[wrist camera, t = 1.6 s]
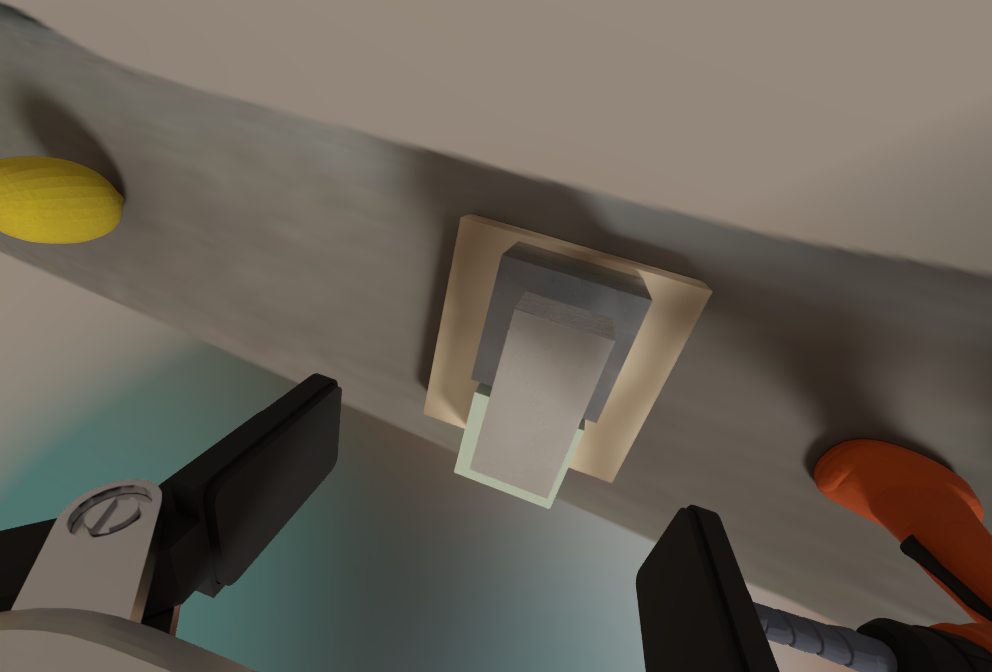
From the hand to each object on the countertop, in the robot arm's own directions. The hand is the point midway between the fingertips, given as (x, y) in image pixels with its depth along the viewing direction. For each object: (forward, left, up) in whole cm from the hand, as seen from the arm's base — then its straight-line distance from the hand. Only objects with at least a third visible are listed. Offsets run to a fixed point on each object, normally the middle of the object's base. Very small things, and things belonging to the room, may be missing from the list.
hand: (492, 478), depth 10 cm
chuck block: (0, 0, -13) cm, 13 cm away
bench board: (+1, +3, -15) cm, 16 cm away
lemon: (+29, -18, -16) cm, 38 cm away
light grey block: (0, 0, -13) cm, 13 cm away
